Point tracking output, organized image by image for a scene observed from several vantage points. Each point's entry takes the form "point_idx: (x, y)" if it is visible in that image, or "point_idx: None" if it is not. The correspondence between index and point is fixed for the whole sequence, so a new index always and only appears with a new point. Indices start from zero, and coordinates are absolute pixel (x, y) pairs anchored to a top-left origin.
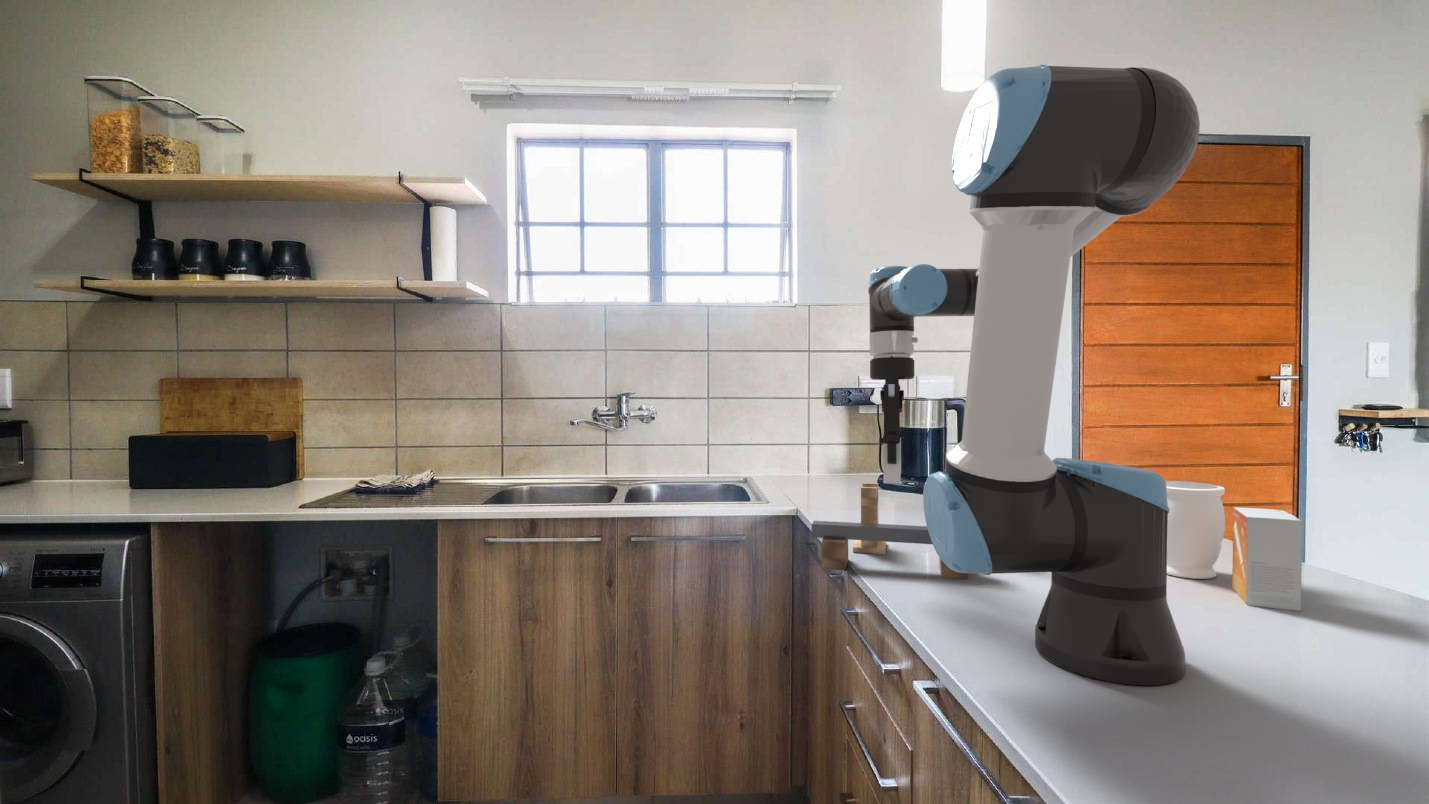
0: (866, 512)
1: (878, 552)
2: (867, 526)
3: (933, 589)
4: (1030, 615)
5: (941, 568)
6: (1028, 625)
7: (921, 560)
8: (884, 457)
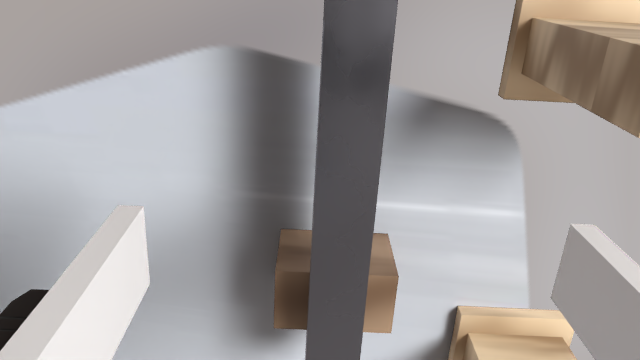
0: (587, 58)
1: (503, 75)
2: (331, 62)
3: (173, 201)
4: None
5: (280, 239)
6: None
7: (438, 194)
8: (53, 295)
